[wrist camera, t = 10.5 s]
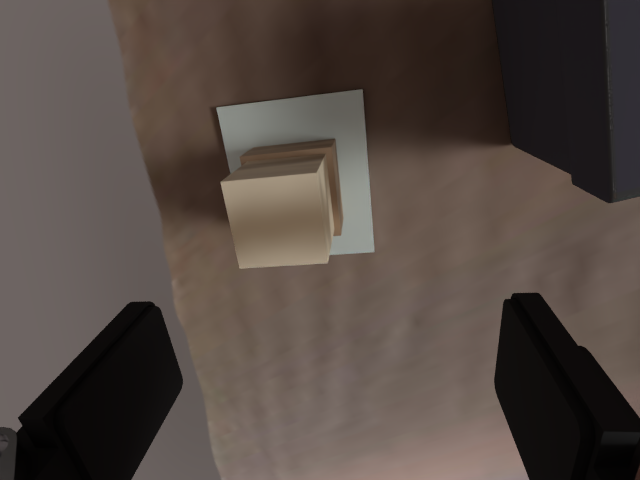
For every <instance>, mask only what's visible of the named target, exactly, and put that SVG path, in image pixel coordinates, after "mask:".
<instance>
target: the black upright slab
mask: <svg viewBox="0 0 640 480" xmlns="http://www.w3.org/2000/svg"><path fill="white" fill-rule="evenodd" d="M492 4H493V11H494V18H495V26H496V33H497V40H498V47H499V55H500V62H501V69H502V76H503V84H504V91H505V98H506V105H507V113H508V120H509V127H510V134H511V141H512V144H513V146H515V147H516V148H518V149H520V150H523V151H525V152H527V153H529V154H531V155H533V156H535V157H537V158H539V159H541V160H543V161H545V162H547V163H549V164H551V165H553V166H555V167H557V168H559V169H561V170H563V171H565V172H567V173H569V174H571V177H572V184H573V185H575V186H577V187H579V188H581V189H583V190H584V191H586V192H588V193H590V194H592V195H594V196H596V197H597V198H599V199H601V200H603V201H605V202H607V203H613V202H618V201H622V200H627V199H631V198H635V197H639V196H640V0H492Z"/></svg>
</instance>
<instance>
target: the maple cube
mask: <svg viewBox="0 0 640 480" xmlns="http://www.w3.org/2000/svg"><path fill="white" fill-rule="evenodd" d="M220 183H221V187H222V192H223V196H224V201H225V205H226V210H227V214H228V218H229V223H230V227H231V232H232V236H233V241H234V245H235V250H236V254H237V259H238V263H239V268H240V269H241V268H257V267H274V266H290V265H307V264H323V263H328V260H329V255H330V249H331V244H332V239H333V234H334V221H333V212H332V204H331V195H330V186H329V177H328V168H327V159H326V153H325V154H316V155H306V156H296V157H286V158H276V159H266V160H256V161H247V162H246V163H245V164H243V165H242V166H241V167H239V168H238V169H237V170H235V171H234V172H233V173H231V174H230V175H229V176H227V177H226V178H225V179H223V180H222V181H221V182H220Z"/></svg>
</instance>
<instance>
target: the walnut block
mask: <svg viewBox="0 0 640 480" xmlns="http://www.w3.org/2000/svg"><path fill="white" fill-rule="evenodd" d="M325 153H326V159H327V168H328V177H329V186H330V195H331V204H332V212H333V221H334V234H333V236H341V233H342V226H343V219H344V217H343V208H342V198H341V188H340V178H339V169H338V159H337V149H336V140H335V139H326V140H317V141H308V142H298V143H289V144H280V145H271V146H261V147H253V148H252V149H250V150H249V151H247V152H246V153H244V154H243V155H241V156H240V162H241V166H242V165H243V164H245V163H246V162H247V161H256V160H266V159H276V158H286V157H296V156H306V155H316V154H325Z"/></svg>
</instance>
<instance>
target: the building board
mask: <svg viewBox="0 0 640 480" xmlns="http://www.w3.org/2000/svg"><path fill="white" fill-rule="evenodd" d="M216 109H217V113H218V118H219V123H220V127H221V132H222V137H223V142H224V146H225V151H226V156H227V160H228V165H229V170H230V174H231V173H233V172H234V171H235V170H237V169H238V168H239V167H241V162H240V156H241V155H243V154H244V153H246V152H247V151H249V150H250V149H252V148H253V147H261V146H271V145H280V144H289V143H298V142H308V141H317V140H326V139H335V140H336V149H337V159H338V169H339V178H340V188H341V198H342V208H343V217H344V219H343V226H342V233H341V236H333V239H332V244H331V249H330V255H337V254H352V253H368V252H374V238H373V224H372V211H371V197H370V183H369V170H368V156H367V142H366V129H365V115H364V101H363V89H359V90H351V91H343V92H335V93H327V94H319V95H311V96H303V97H295V98H287V99H279V100H271V101H263V102H255V103H247V104H239V105H231V106H223V107H217V108H216Z"/></svg>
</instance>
